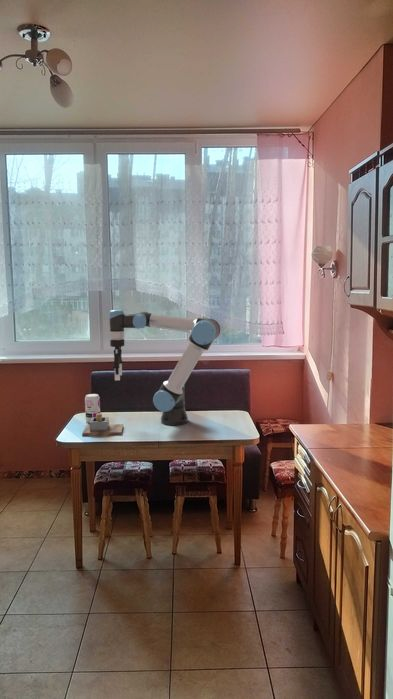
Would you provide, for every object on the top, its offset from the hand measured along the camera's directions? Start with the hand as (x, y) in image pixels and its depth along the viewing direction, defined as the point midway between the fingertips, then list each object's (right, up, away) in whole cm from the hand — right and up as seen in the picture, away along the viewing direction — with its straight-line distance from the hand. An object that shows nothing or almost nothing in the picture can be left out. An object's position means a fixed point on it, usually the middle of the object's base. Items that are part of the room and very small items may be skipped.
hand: (118, 377), depth 272 cm
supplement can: (-16, -26, +13) cm, 33 cm away
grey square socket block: (-9, -27, -7) cm, 29 cm away
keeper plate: (-7, -28, -6) cm, 30 cm away
